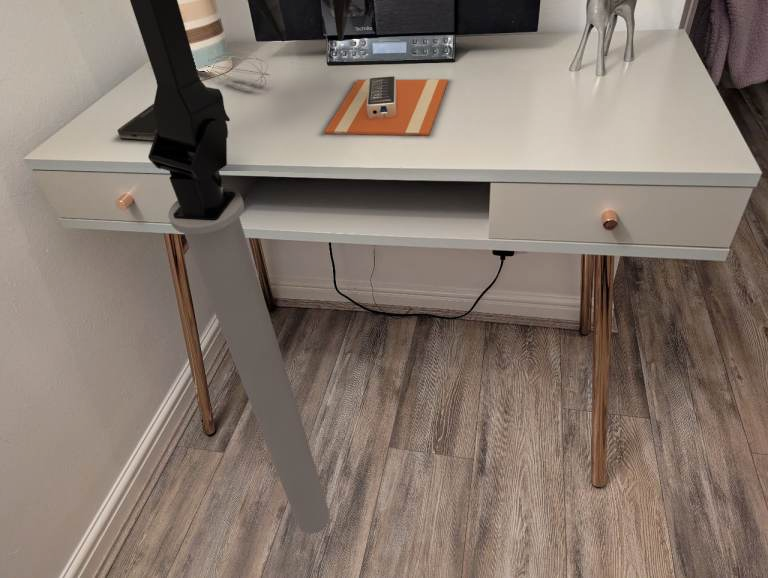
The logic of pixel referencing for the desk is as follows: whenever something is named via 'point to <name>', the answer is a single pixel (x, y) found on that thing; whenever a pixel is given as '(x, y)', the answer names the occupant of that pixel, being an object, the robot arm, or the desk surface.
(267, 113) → the desk surface
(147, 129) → the phone
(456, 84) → the desk surface
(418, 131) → the towel
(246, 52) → the kitchen whisk
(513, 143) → the desk surface
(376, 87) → the multiport hub
